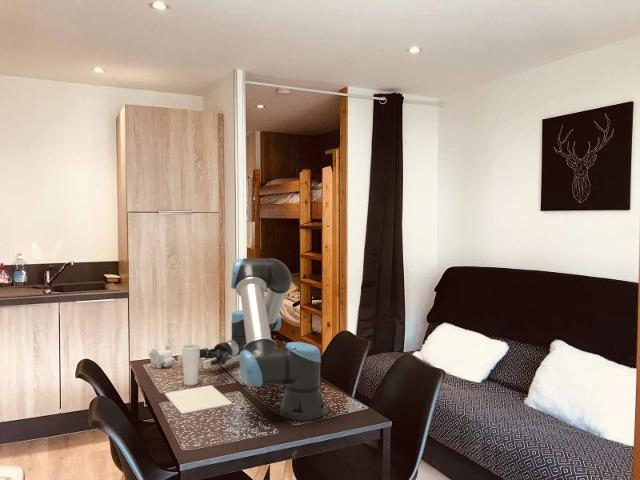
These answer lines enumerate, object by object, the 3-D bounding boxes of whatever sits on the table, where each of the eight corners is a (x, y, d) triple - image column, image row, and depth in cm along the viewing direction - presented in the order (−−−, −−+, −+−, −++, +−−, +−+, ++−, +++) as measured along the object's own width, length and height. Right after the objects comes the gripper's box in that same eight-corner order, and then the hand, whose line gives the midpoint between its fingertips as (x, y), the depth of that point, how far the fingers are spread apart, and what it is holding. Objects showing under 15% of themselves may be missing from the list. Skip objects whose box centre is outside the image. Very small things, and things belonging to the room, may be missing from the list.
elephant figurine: (163, 372, 211) (163, 351, 211) (144, 367, 217) (144, 347, 217) (180, 366, 219) (180, 346, 219) (161, 362, 225) (161, 342, 225)
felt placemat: (232, 404, 175) (232, 403, 175) (181, 414, 165) (181, 413, 165) (211, 386, 194) (211, 385, 194) (164, 394, 184) (164, 393, 184)
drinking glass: (190, 380, 201) (191, 343, 200) (203, 383, 198) (203, 345, 197) (178, 384, 195) (178, 346, 195) (190, 387, 192) (190, 349, 191)
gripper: (249, 363, 210) (215, 377, 191) (203, 355, 222) (168, 367, 203) (249, 345, 209) (215, 357, 191) (203, 338, 221) (168, 348, 203)
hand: (191, 362), depth 197 cm, fingers open, 13 cm apart
